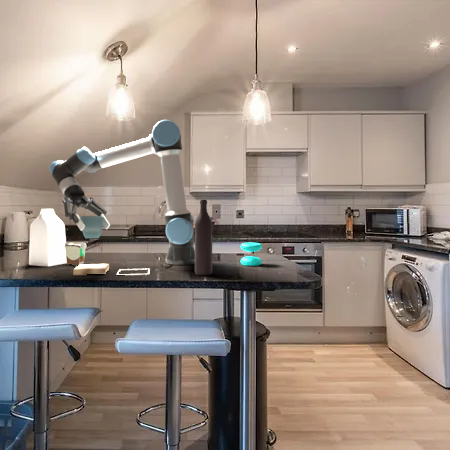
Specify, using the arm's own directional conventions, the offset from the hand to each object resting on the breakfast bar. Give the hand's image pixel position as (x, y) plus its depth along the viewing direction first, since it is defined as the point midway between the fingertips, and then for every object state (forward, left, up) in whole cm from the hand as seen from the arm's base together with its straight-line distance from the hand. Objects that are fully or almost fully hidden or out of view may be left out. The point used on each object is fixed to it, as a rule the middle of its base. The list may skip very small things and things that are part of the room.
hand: (96, 227), depth 155 cm
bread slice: (+2, -2, -19) cm, 19 cm away
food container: (+12, -26, -19) cm, 34 cm away
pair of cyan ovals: (-68, -12, -19) cm, 71 cm away
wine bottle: (-43, +9, -19) cm, 48 cm away
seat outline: (-15, +1, -19) cm, 24 cm away
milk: (+26, -29, -19) cm, 43 cm away
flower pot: (+2, -2, -5) cm, 5 cm away
